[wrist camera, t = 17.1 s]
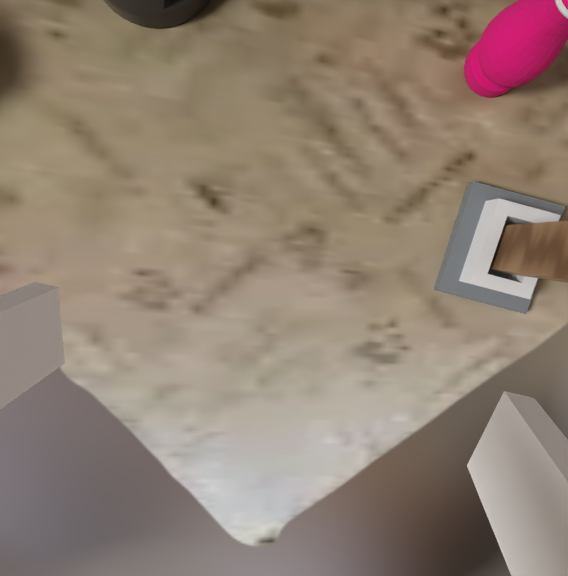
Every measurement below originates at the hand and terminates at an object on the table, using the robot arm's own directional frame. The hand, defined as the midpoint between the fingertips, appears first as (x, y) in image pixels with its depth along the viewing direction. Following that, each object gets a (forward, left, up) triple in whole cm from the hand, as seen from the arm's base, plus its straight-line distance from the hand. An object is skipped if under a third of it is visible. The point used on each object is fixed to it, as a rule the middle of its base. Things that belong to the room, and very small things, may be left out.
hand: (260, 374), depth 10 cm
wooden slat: (-9, +24, -31) cm, 40 cm away
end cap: (-9, +24, -32) cm, 41 cm away
